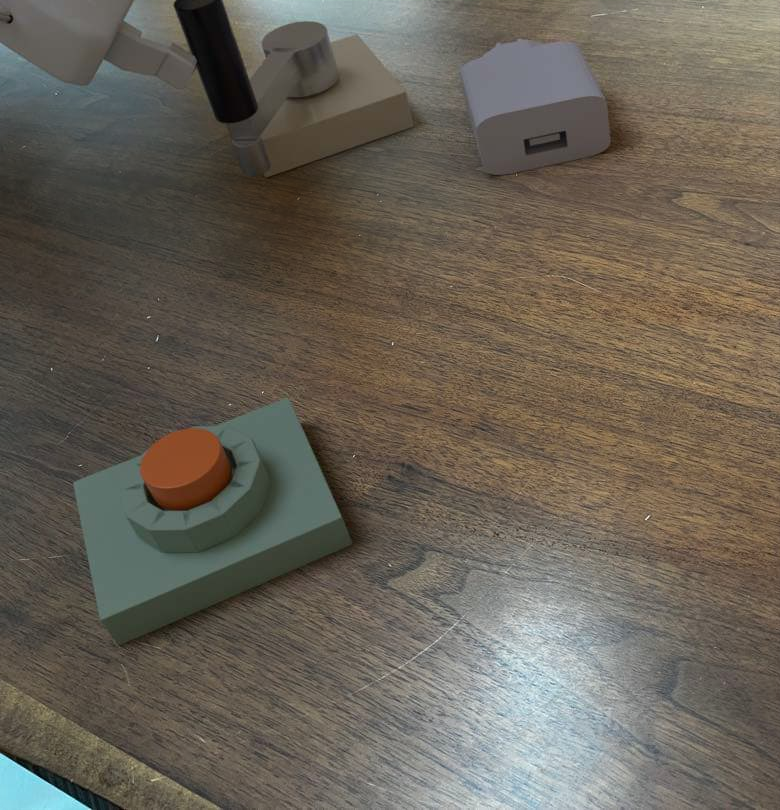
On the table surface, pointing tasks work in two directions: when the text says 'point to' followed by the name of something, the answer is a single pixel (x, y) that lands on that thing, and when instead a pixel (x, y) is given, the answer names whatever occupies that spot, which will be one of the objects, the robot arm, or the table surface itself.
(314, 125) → the crank base
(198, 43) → the crank handle
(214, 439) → the button
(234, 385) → the table surface
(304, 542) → the button box
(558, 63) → the charger
